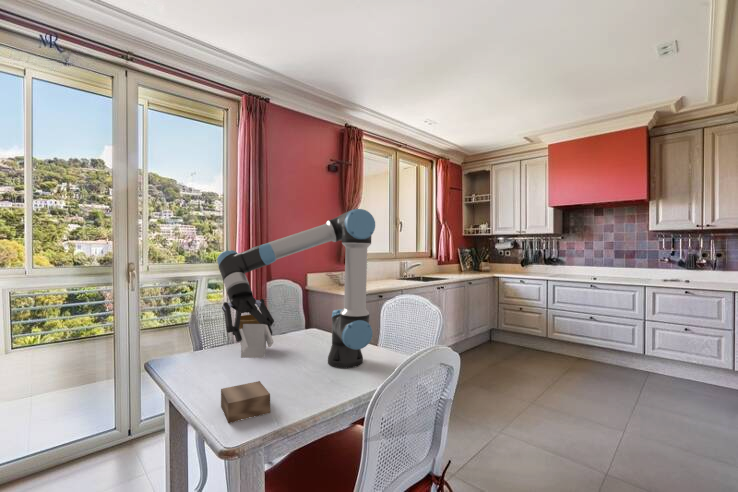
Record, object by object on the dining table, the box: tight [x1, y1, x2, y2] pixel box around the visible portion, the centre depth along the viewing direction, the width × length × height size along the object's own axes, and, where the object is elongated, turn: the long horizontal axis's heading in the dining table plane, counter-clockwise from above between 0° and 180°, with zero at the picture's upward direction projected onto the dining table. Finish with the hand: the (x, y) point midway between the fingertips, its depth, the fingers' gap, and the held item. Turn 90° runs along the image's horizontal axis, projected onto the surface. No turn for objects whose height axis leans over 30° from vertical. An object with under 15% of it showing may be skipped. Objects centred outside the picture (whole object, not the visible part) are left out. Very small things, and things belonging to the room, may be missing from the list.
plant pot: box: [239, 313, 260, 330], centre depth 171 cm, size 15×15×16 cm
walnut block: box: [220, 380, 271, 424], centre depth 110 cm, size 12×12×6 cm
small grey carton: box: [240, 324, 267, 359], centre depth 112 cm, size 4×7×10 cm, turn 95°
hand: (258, 346), depth 109 cm, fingers closed on small grey carton, 8 cm apart
